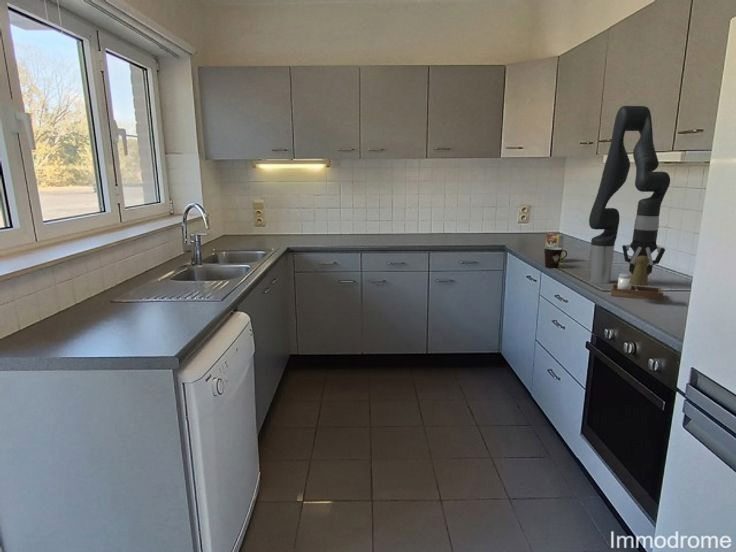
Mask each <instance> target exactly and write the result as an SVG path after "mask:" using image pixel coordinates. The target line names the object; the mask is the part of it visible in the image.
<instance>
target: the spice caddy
mask: <svg viewBox="0 0 736 552" xmlns="http://www.w3.org/2000/svg"><path fill="white" fill-rule="evenodd" d="M617 287H618V283H611V285H610V297H612V298H613V297H614V298H623V299H625V298H626V299H636V300H645V301H657V302H663V299H664V295H665V293H664V291H663V290H662V287H653V286H638V285H632V287H631V290H625V289H617Z"/></svg>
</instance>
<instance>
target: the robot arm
mask: <svg viewBox="0 0 736 552" xmlns="http://www.w3.org/2000/svg"><path fill="white" fill-rule="evenodd" d="M614 119H615V120H614V123H613V128H612V129H613V131H612V136H611V139H610V145H609V150H608V154H607V156H606V160H605V164H604V168H603V170H602V175H601V180H600V183H599V187H598V190H597V193H596V196H595V200H594V202H593V204H592V208H591V210H590V215H589V218H588V219H589V220H588V226H589V228H591V230H603V232H602V233H600V234H599V235H596V236H594V237H592V238H591V241H590V252H589V261H588V272H587V279H586V280H587V282H590V283H594V284H595V283H596V284H610V283H611V280H612V279H611V278H612V273H613V272H612V270H613V261H614V254H615V253H614V252H615V246H616V245H615V243H616V241H617V237H618V233H619V232H618V230H619V225H620V217H621V216H620V212H619V210H618V209H617V208H614V207H607V205H608V203H609V202H610V201H609V200H611V198H612V197H613V196H614V195H615V194H616V193H617V192H618V191H619V190H620V189H621V188H622V187H623V185H624V184H625V182H626V181H627V179H628V175H629V172H630V169H631V161H630V158H629V155H628V153H627V150H626V147H625V142H624V140H625V134H626V132H638V133H639V135H640V137H639V138H638V141H637V142H636V144H635V145H634V148H633V152H632V157H633V161H634V164H635V168H636V169H635V171H636V173H635V180H634V187H635V188H636V189H637V191H639V192H642V193H643V192H644V193H651V192H652V195H651V196H649V197H645V198H641V199H639V200H638V202H637V203H638V204H637V208H636V216H635V220H634V225H633V232H632V234H633V235H632V241H631V242H630V244H627V245H625V244H623V245H622V246H621V248H622V251H623V252H622V253H623V257H624V261H625V262H627V263H629V267H628V271H629V272H630V274H633V271H634V265H635V262H634V261H635V258H637V256H638V255H644V256H648V259H649V263H648V271H647V275H648V276H649V275H650V274H652V272H653V266H654V265H658V264H659V263H660V261H661V260H662V257H663V255H664V253H665V252H666V248H665V247H663V246H662V247H661V246H658V245H657V239H658V233H659V228H660V212H661V205H662V202H663V201H664V198H665V195H666V193H667V191H668V189H669V187H670V185H671V176H670V174H669V173H668V172H666V171H656V170H657V169H658V167H659V165H660V164H659V159H658V155H657V153H656V148H655V143H654V138H653V137H654V133H653V132H654V131H653V123H652V113H651V111H650V108H649V107H648V106H645V105H622V106H620V108H618V110H617V112H616V115H615V118H614ZM630 248H631V250H632V251H633V254H632V256H631V258H629V255H628V251H630ZM655 251H656V252H657V254H656V257H655V259H653V256H652V254H653V252H655Z"/></svg>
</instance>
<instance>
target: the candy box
mask: <svg viewBox="0 0 736 552" xmlns="http://www.w3.org/2000/svg"><path fill="white" fill-rule="evenodd" d="M545 236H546V237H545V247H558V248H562V250H564V241H565V240H564V239H565V238H564V237H565V235H563V234H556V233H552V232H551V233H550V232H549V233H546V235H545ZM545 247H544V248H545ZM563 252H564V251H563ZM563 252H561V257H560V259H562V258H563ZM560 262H561V263H562V262H563V260H561V261H560Z"/></svg>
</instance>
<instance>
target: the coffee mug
mask: <svg viewBox="0 0 736 552" xmlns="http://www.w3.org/2000/svg"><path fill="white" fill-rule="evenodd" d="M543 249H544V268H546V269H553V268H555V269H558V268H559V267H560V266H559V265H560V263H559V262H560V261H561V260H562V261H563V260H564V259H565V258H566V257H567V255H568V251H566V250H564V249H563V250H562V248H558V247H543ZM561 252H565V255H564V256H562V259H560V257H561Z"/></svg>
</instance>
